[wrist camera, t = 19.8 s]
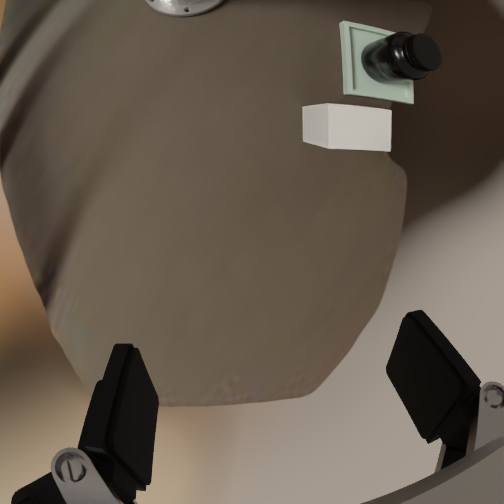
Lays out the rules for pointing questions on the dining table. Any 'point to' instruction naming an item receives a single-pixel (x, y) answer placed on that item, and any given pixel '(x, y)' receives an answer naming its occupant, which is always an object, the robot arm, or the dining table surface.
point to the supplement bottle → (401, 57)
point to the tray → (353, 72)
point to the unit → (347, 127)
